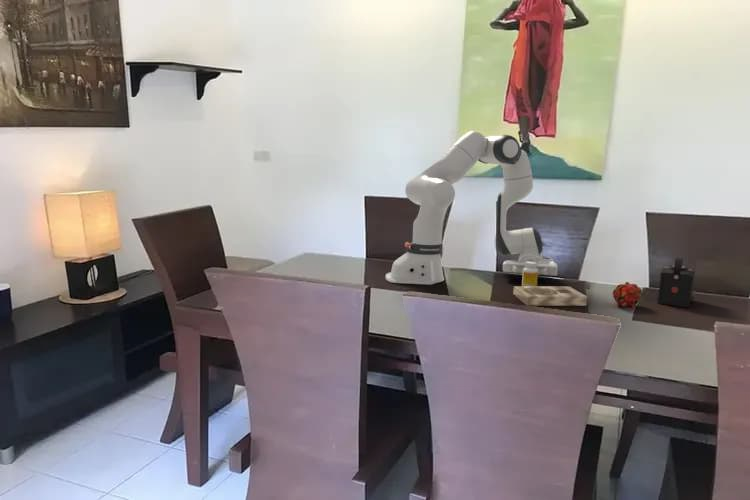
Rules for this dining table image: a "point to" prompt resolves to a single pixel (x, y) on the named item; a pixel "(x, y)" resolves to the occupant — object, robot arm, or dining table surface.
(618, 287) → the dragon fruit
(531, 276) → the supplement bottle
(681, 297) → the camera
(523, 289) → the holder block
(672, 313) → the dining table surface
